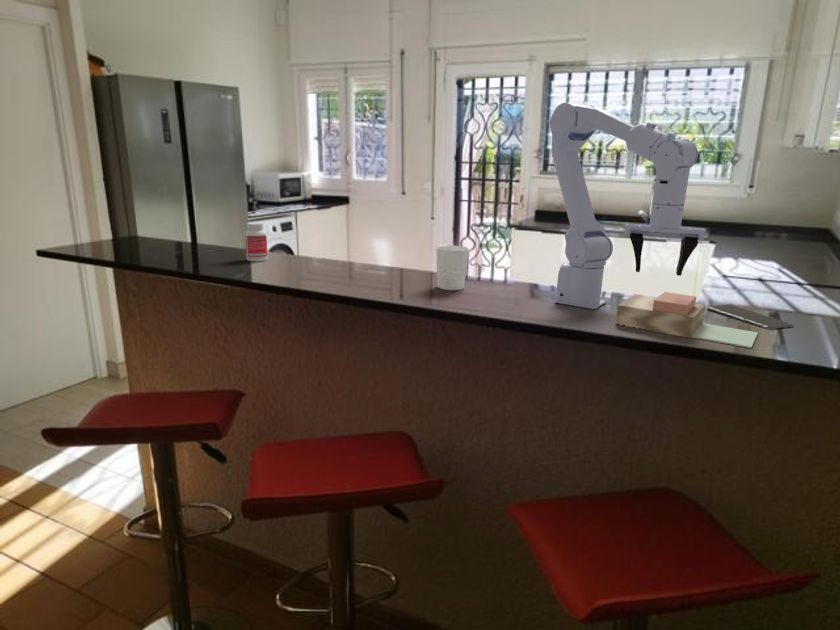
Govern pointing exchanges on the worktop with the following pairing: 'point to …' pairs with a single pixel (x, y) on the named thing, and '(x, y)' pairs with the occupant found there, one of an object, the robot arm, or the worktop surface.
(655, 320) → the wooden block
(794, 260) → the worktop surface
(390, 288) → the worktop surface
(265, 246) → the pill bottle
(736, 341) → the mat
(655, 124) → the robot arm
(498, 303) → the worktop surface
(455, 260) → the white cup
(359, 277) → the worktop surface
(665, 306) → the pink rubber eraser
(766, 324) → the smartphone
